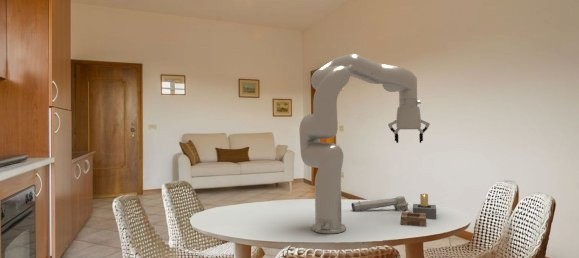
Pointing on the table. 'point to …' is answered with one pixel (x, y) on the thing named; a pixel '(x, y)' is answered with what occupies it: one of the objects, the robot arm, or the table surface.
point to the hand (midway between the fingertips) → (408, 142)
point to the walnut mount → (413, 219)
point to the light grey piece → (381, 204)
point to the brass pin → (424, 200)
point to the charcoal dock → (425, 210)
